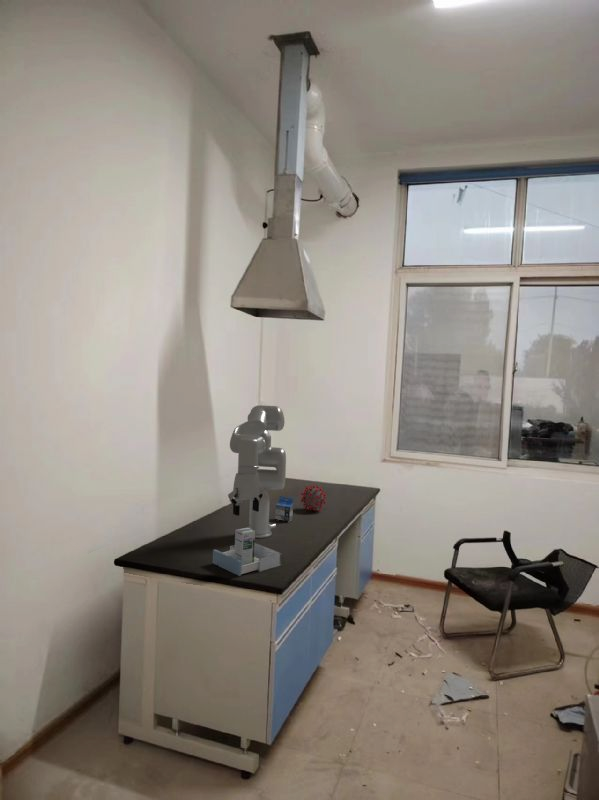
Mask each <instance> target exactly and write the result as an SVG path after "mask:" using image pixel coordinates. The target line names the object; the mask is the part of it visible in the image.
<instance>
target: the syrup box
mask: <svg viewBox="0 0 599 800" xmlns="http://www.w3.org/2000/svg"><path fill="white" fill-rule="evenodd" d="M234 532H235V534H234V545H235V558H236V559H238V560H240V561H242V566H243V565H246V564H250V563H253V562H254V548H255V543H256V538H255V531H254V530H253V529H250V528H249V527H244V528H239V529H235V531H234Z"/></svg>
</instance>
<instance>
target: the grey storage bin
mask: <svg viewBox="0 0 599 800" xmlns="http://www.w3.org/2000/svg"><path fill="white" fill-rule="evenodd" d="M230 550H235V544H234V545H230V546H229V551H230ZM254 557H255V558H258V559H259V568H258V570H256V571H258V572H259V573H260V572H263V571H267V570H270V569H273V568H278V567H280V566H282V552H279V551H277V550H274V549H272V548H269V547H266V546H264V545H261V544H259V543H256V542H255V548H254Z"/></svg>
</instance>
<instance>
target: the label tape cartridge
mask: <svg viewBox="0 0 599 800" xmlns="http://www.w3.org/2000/svg"><path fill="white" fill-rule="evenodd" d="M293 509H294V498H292V497H287V496H282V495H279V500H278V502H277V503H276V504H275V516H274V517H275V519H277V520H276V521H279V520H283V521H282V522H285V521H288V522H287V523H291V522H293V514H294V513H293V511H294V510H293ZM290 521H291V522H290Z"/></svg>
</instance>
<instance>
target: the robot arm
mask: <svg viewBox="0 0 599 800" xmlns="http://www.w3.org/2000/svg"><path fill="white" fill-rule="evenodd" d="M284 426H285V416H284V412H283V410H282V409H281V407H280V406H277V405H262V404H261V405H260V404H259V405H255V406H253V407H252V408H251V409H250V412H249V414H247V421H245V422H243V423H241V424H239V425H237V426H236V427H235V428H234V430H232V431H233V432H232V433H231V437H230V439H229V440H230V441H229V449H230V451H231V452H232V453H234V454H238V455H237V456H238V460H237V461H238V462H237V472H236V474H235V476H234V481H233V489H232V491H230V493H228V494H227V496H228V499H229V502H231V504H232V506H233V507H232V514H233V515H235V516H237V517H239V516H240V511H241V510H240V508H241V507H240V505H239V504H240V503H241V502H242V501H245V500H249V513H248V515H249V519H248V528H250V529H253V530H254V531H255V539H256V538H258V539H264V538H269V537H270V536H272V534H273V533H272V529H275V528H276V527H277V525H276V523H273V524H272V523H271V524H270V505H271V504H270V502H271V500H270V495H269V494H268V492H267V490H269V491H270V490H273V491H281V490H283V489H284V488H285V485H286V473H287V466H286V465H287V456H286V451H285V449H284V448H283V447H273V446H272V436H271V433H270V432H269V431H273V432H274V431H275V432H276V431H277V432H280V431H282V430H283V429H284ZM260 467H261V468H260ZM262 467H263V468H262ZM265 468H266V469H265ZM268 468H275V469H268Z"/></svg>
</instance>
